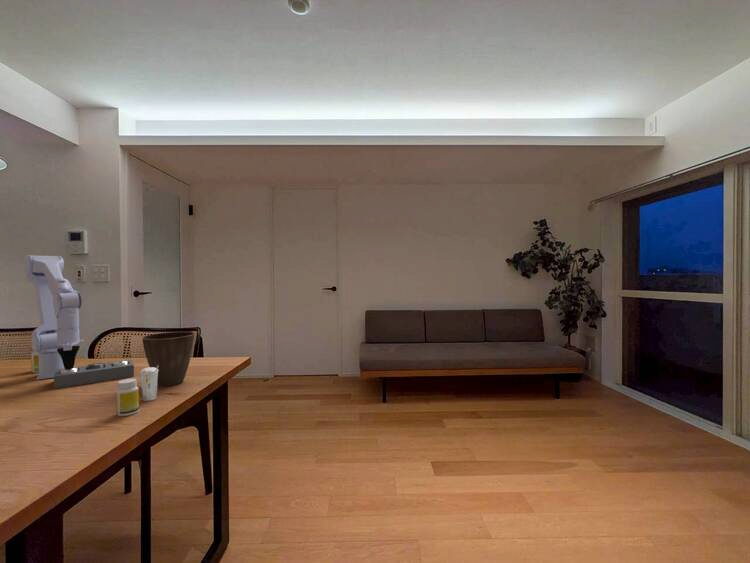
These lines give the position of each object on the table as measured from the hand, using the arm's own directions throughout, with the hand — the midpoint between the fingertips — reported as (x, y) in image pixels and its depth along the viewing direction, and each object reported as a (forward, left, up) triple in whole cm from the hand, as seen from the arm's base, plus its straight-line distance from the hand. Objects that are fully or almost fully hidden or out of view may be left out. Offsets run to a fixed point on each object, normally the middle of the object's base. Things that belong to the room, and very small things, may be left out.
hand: (69, 368), depth 118 cm
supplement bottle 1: (-27, -9, -5) cm, 29 cm away
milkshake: (+37, +19, -5) cm, 42 cm away
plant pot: (+23, +26, -5) cm, 35 cm away
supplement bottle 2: (+45, +13, -5) cm, 47 cm away
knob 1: (0, 0, -4) cm, 4 cm away
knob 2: (0, +14, -4) cm, 15 cm away
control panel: (0, +7, -5) cm, 8 cm away
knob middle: (0, +7, -4) cm, 8 cm away
